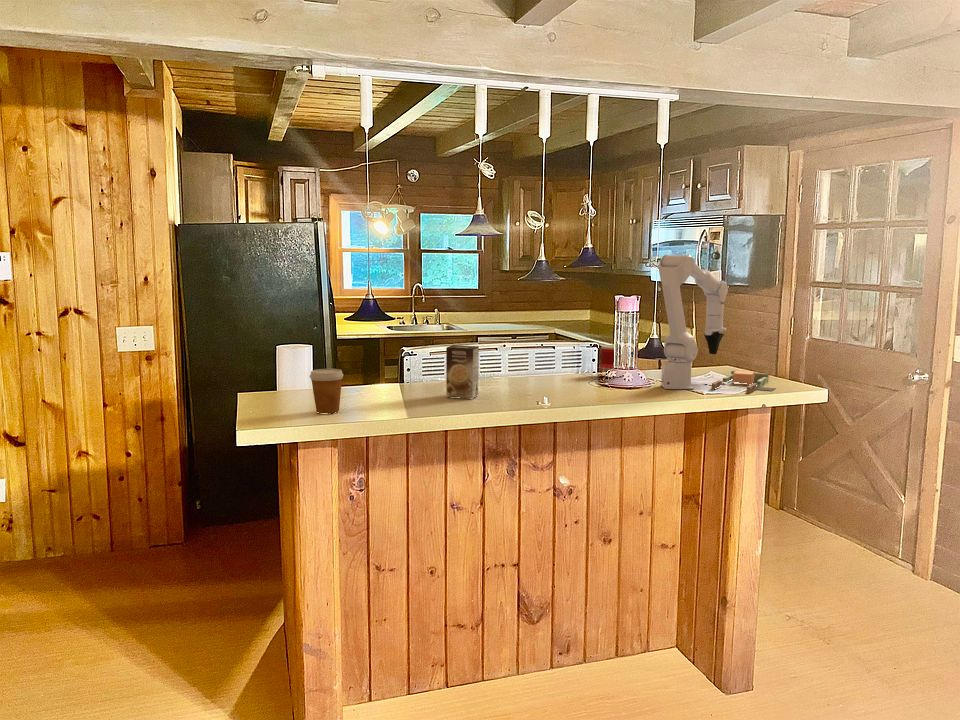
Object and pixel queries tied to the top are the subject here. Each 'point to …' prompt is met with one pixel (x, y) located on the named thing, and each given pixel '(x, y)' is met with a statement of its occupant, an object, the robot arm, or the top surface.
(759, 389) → the trap pads
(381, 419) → the top surface
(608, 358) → the canned food
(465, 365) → the coffee box
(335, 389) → the disposable coffee cup
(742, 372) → the block
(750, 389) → the trap lane
